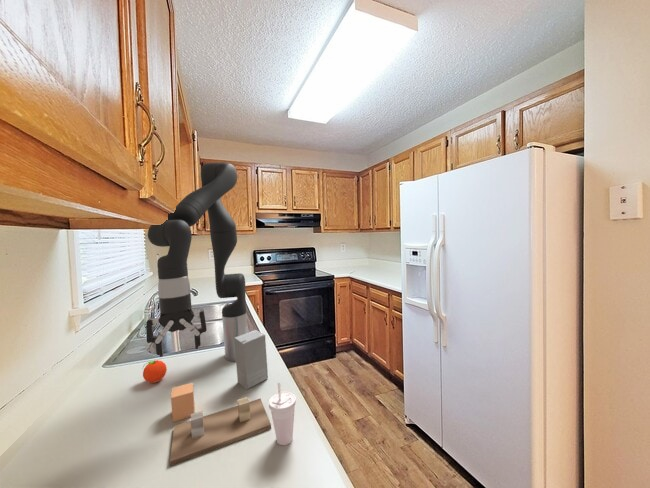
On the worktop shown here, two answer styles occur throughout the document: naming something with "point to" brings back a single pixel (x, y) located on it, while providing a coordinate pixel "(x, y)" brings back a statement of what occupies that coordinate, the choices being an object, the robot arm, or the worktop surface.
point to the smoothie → (283, 415)
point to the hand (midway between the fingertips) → (179, 351)
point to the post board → (218, 429)
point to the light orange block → (182, 402)
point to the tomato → (154, 371)
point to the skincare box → (251, 358)
